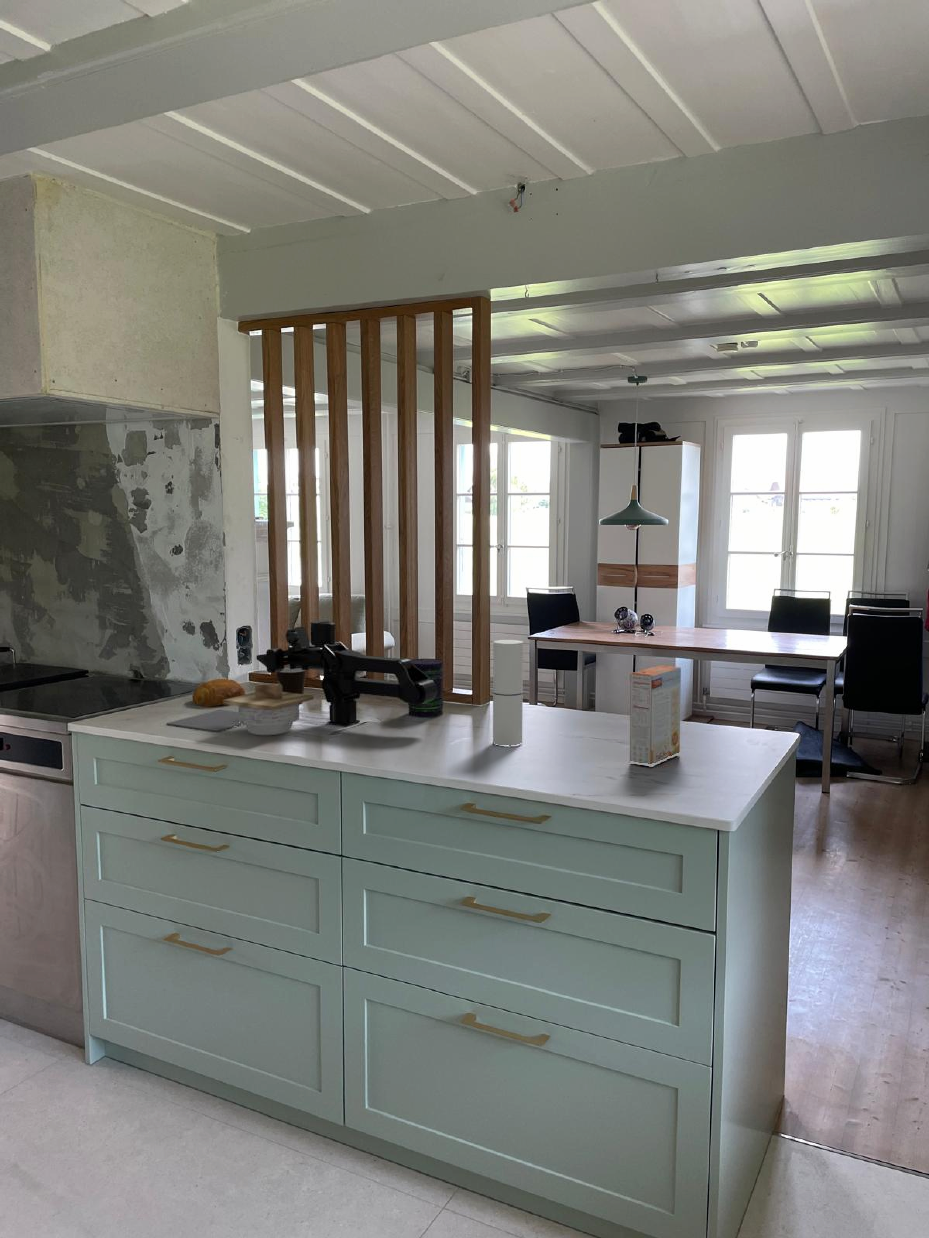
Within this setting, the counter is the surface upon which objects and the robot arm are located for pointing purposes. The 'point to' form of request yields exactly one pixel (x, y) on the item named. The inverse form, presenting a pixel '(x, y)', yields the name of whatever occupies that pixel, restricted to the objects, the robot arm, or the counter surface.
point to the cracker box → (655, 713)
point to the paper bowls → (268, 719)
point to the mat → (210, 721)
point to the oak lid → (268, 698)
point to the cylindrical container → (507, 692)
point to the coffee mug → (292, 680)
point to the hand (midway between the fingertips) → (267, 655)
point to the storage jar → (435, 673)
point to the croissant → (216, 692)
